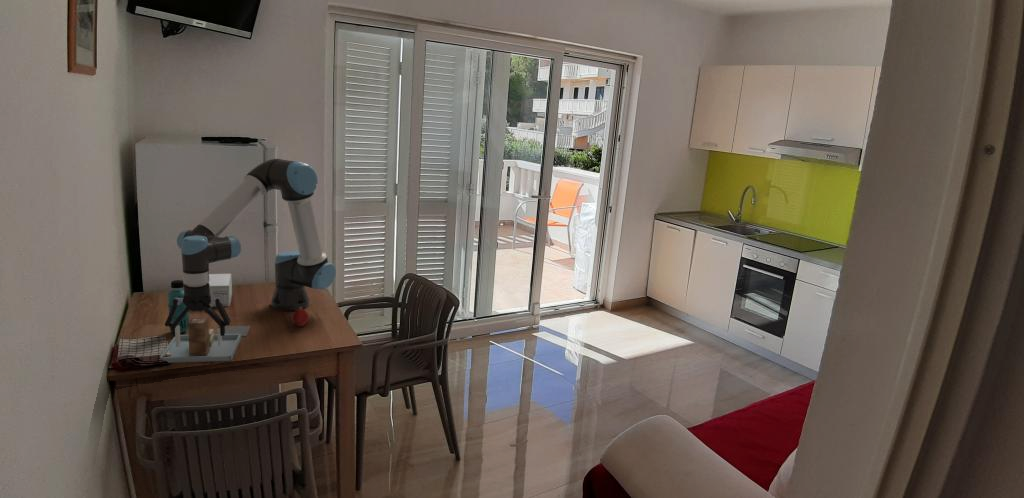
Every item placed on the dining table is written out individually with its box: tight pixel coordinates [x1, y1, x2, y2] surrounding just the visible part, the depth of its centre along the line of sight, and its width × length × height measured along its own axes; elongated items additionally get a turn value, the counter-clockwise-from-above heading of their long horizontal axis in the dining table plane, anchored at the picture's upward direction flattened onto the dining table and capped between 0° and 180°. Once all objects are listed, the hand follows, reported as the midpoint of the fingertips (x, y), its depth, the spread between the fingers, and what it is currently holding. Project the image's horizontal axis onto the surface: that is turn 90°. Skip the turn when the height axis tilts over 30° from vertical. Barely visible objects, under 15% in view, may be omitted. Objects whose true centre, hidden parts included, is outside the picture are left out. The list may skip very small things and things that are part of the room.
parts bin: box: [159, 333, 242, 364], centre depth 203 cm, size 21×19×2 cm
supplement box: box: [208, 273, 233, 308], centre depth 250 cm, size 17×13×9 cm
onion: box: [292, 307, 309, 328], centre depth 230 cm, size 6×6×8 cm
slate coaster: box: [225, 325, 251, 338], centre depth 220 cm, size 10×10×1 cm
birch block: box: [209, 328, 215, 347], centre depth 206 cm, size 4×4×5 cm
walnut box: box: [187, 317, 210, 356], centre depth 198 cm, size 5×5×12 cm
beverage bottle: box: [167, 279, 190, 334], centre depth 213 cm, size 6×7×20 cm
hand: (199, 344), depth 199 cm, fingers open, 12 cm apart
